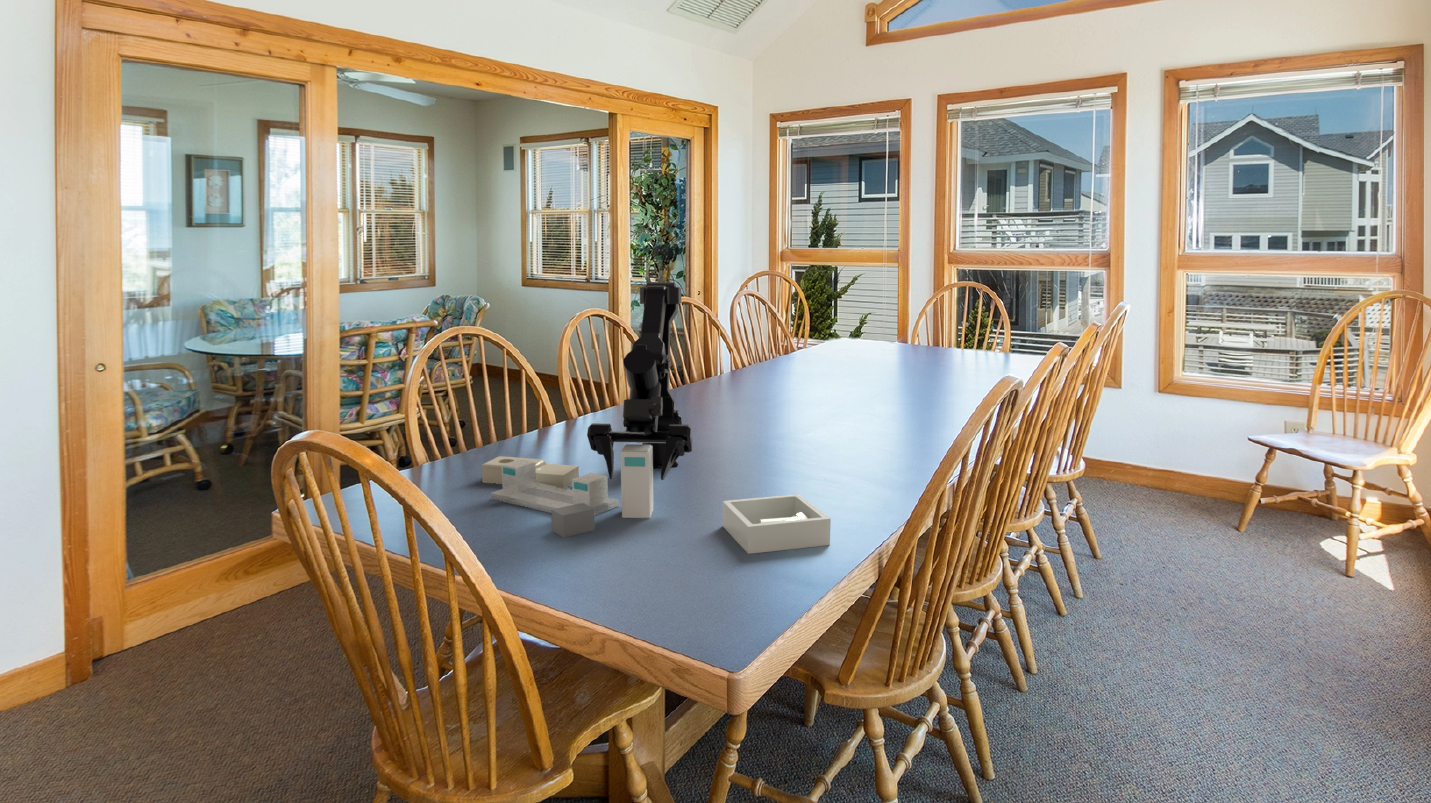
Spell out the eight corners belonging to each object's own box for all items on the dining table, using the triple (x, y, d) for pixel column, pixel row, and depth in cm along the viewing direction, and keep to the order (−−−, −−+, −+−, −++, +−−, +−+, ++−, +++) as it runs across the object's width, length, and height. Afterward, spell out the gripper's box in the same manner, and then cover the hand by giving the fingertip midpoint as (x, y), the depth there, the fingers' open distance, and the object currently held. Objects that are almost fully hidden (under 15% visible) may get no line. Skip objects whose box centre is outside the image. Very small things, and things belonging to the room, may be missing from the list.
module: (626, 508, 167) (625, 443, 165) (653, 509, 167) (652, 444, 164) (621, 517, 162) (620, 450, 160) (649, 518, 162) (648, 451, 159)
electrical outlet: (563, 470, 178) (481, 464, 183) (563, 490, 179) (482, 483, 184) (578, 461, 185) (498, 455, 190) (578, 480, 186) (499, 474, 191)
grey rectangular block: (583, 524, 159) (582, 502, 158) (594, 530, 156) (594, 508, 155) (552, 531, 155) (551, 509, 154) (563, 538, 152) (562, 515, 151)
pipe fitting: (749, 542, 152) (781, 548, 147) (748, 519, 151) (780, 525, 147) (778, 530, 157) (810, 535, 153) (777, 508, 157) (809, 513, 152)
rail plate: (529, 486, 181) (527, 456, 180) (619, 505, 169) (618, 473, 168) (491, 498, 173) (489, 467, 172) (582, 520, 161) (581, 486, 159)
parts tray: (798, 518, 162) (798, 494, 161) (829, 545, 148) (830, 518, 148) (722, 525, 158) (722, 500, 157) (748, 553, 145) (748, 526, 144)
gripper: (587, 379, 165) (576, 454, 156) (690, 381, 163) (685, 456, 155) (596, 413, 174) (587, 485, 165) (694, 415, 173) (689, 487, 164)
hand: (636, 478), depth 162 cm, fingers open, 9 cm apart
